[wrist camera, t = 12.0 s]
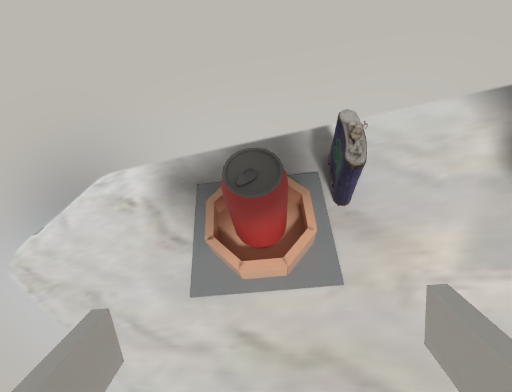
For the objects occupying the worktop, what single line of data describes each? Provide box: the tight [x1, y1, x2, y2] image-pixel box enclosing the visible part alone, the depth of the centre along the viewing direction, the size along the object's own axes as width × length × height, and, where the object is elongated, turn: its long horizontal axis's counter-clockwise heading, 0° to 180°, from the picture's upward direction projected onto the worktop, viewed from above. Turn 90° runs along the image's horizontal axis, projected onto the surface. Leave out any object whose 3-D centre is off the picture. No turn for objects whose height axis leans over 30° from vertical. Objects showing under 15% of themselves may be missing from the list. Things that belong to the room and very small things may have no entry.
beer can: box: [221, 148, 288, 248], centre depth 29 cm, size 7×7×12 cm
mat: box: [190, 172, 344, 297], centre depth 35 cm, size 18×16×1 cm
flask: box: [328, 110, 368, 206], centre depth 34 cm, size 9×3×11 cm, turn 177°
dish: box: [205, 177, 317, 279], centre depth 33 cm, size 13×13×4 cm
